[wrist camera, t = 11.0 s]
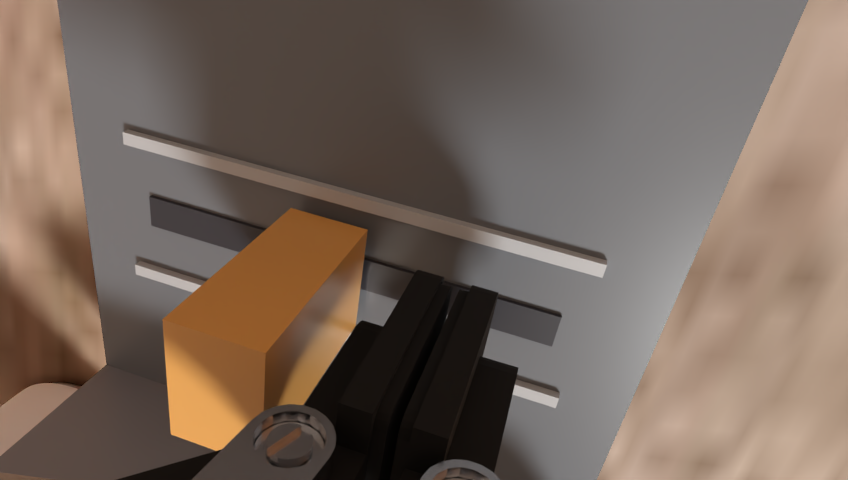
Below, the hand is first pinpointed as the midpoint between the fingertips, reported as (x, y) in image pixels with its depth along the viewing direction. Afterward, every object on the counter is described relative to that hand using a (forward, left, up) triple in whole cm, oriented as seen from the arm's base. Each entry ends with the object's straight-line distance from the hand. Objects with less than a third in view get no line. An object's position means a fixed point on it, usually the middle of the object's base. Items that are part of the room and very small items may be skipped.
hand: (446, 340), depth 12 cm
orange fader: (0, -3, -1) cm, 3 cm away
